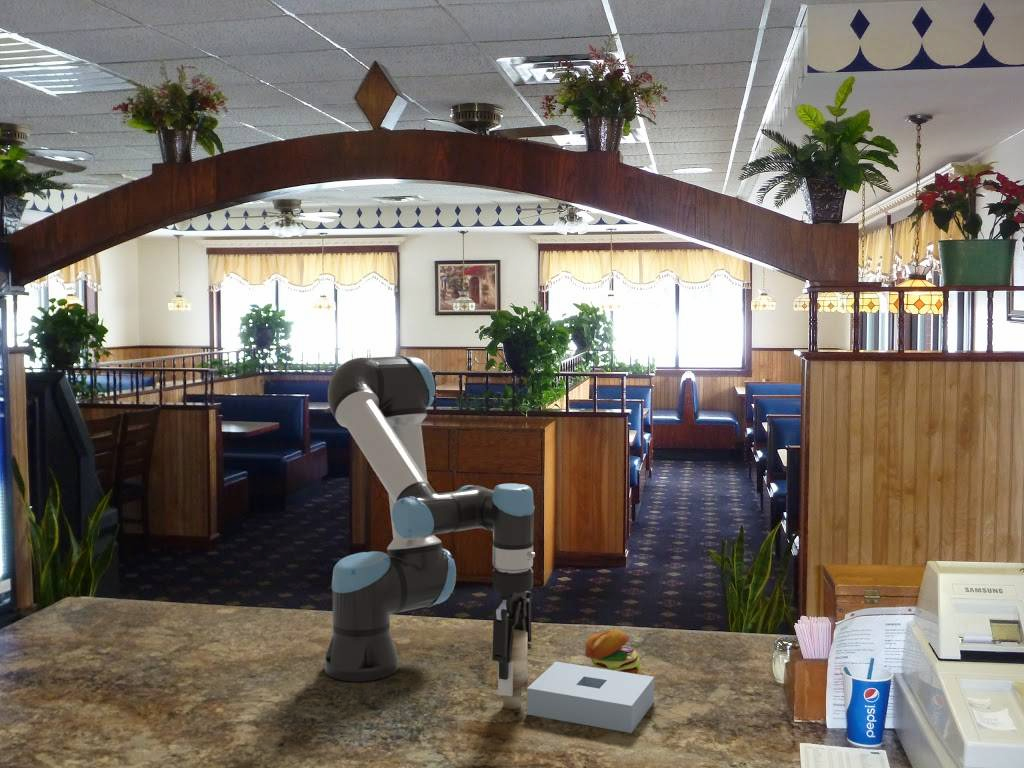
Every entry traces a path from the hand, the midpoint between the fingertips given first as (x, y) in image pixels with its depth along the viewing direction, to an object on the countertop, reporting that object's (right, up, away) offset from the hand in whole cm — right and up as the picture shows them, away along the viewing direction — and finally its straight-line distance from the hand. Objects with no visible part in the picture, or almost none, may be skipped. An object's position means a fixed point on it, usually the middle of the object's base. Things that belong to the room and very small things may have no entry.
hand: (512, 688), depth 190 cm
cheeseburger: (+21, -2, +18) cm, 27 cm away
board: (+15, -4, -1) cm, 15 cm away
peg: (0, -3, 0) cm, 3 cm away
